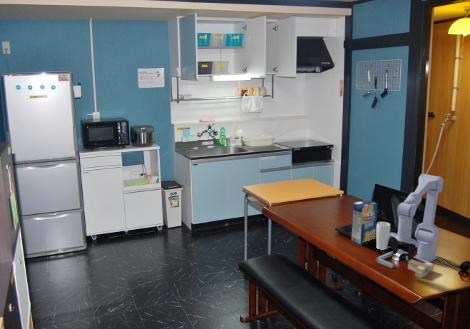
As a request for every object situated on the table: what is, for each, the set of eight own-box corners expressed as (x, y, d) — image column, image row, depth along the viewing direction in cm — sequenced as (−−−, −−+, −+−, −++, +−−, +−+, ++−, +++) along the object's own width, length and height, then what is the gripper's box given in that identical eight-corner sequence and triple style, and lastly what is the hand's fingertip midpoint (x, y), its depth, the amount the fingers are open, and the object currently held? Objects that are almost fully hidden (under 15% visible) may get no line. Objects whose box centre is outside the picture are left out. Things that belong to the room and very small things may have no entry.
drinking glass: (385, 247, 239) (387, 221, 235) (390, 253, 232) (392, 226, 229) (373, 248, 239) (374, 221, 235) (377, 253, 232) (379, 226, 229)
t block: (415, 264, 220) (416, 257, 219) (432, 271, 213) (433, 264, 212) (403, 270, 214) (404, 263, 213) (421, 277, 207) (421, 270, 206)
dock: (392, 253, 232) (392, 250, 231) (408, 260, 225) (408, 256, 224) (375, 261, 223) (375, 258, 223) (391, 268, 216) (392, 264, 216)
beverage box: (351, 240, 248) (353, 203, 243) (365, 236, 254) (368, 199, 248) (360, 245, 243) (362, 206, 237) (374, 240, 248) (377, 203, 243)
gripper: (385, 225, 207) (383, 253, 210) (414, 235, 195) (411, 264, 199) (394, 222, 211) (392, 249, 214) (423, 231, 200) (420, 259, 203)
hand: (402, 256), depth 207 cm, fingers open, 7 cm apart
